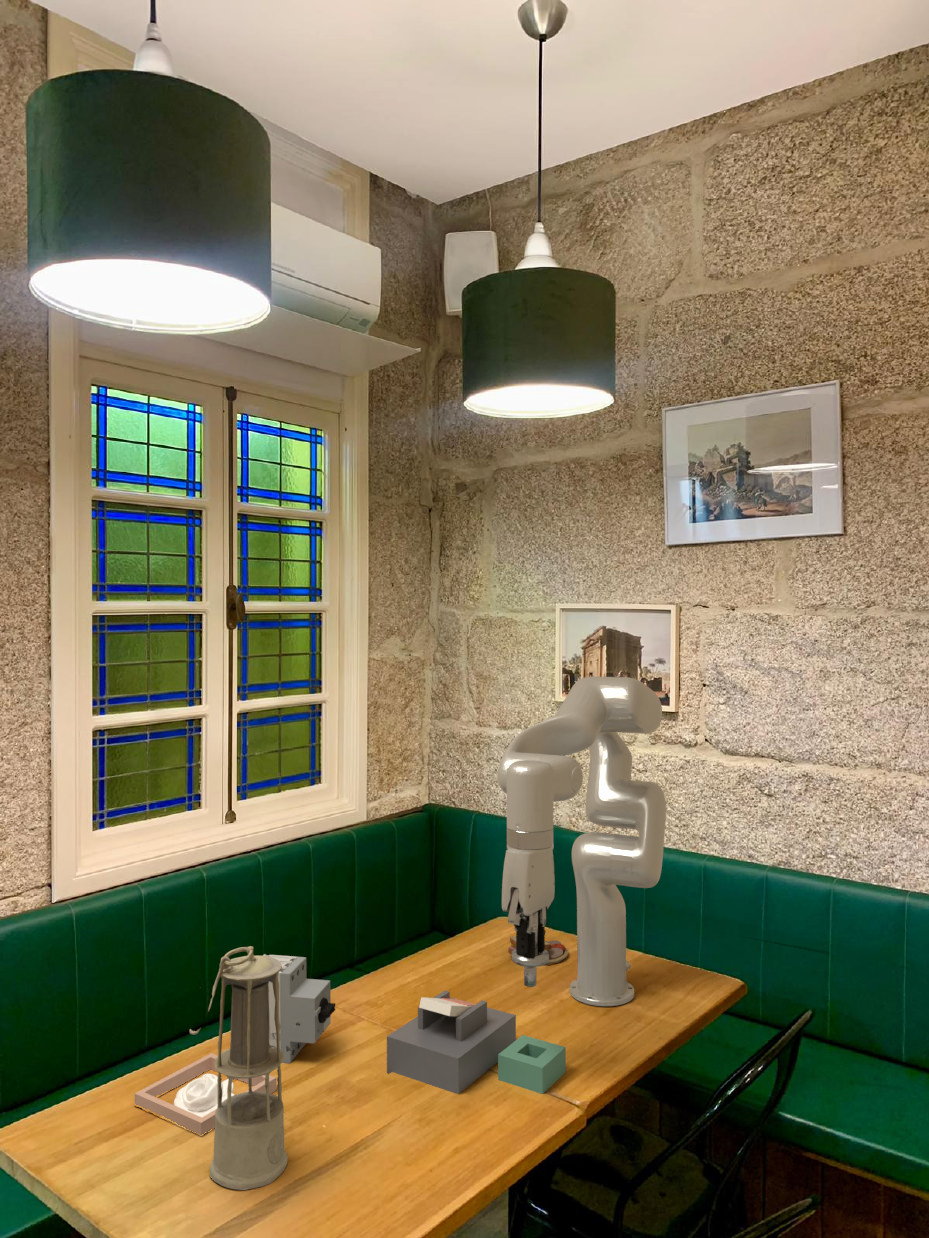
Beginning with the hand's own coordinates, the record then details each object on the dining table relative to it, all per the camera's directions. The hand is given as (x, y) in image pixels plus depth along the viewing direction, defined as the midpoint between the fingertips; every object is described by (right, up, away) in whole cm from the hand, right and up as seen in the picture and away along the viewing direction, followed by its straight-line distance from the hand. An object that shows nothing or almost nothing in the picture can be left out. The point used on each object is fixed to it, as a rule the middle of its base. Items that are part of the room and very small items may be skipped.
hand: (530, 952), depth 144 cm
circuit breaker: (-40, -21, +10) cm, 46 cm away
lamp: (-41, -21, -23) cm, 52 cm away
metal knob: (0, -5, 0) cm, 5 cm away
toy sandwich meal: (+6, -21, +53) cm, 57 cm away
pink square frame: (-51, -21, -5) cm, 55 cm away
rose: (-50, -21, -7) cm, 55 cm away
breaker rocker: (-13, -12, +6) cm, 18 cm away
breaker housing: (-13, -21, +6) cm, 25 cm away
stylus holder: (0, -20, 0) cm, 20 cm away
